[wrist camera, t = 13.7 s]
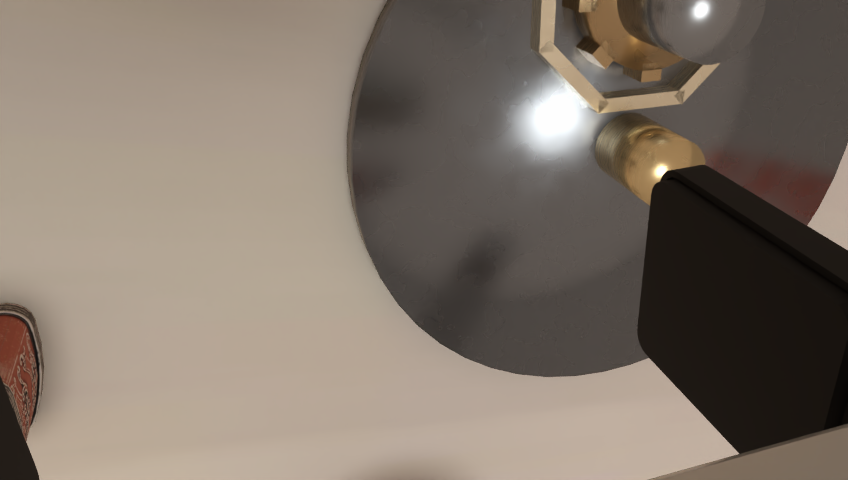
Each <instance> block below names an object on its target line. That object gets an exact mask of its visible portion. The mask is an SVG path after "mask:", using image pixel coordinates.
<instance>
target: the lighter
mask: <svg viewBox="0 0 848 480" xmlns="http://www.w3.org/2000/svg"><path fill="white" fill-rule="evenodd" d="M43 374H44V362H43V353H42V345H41V339H40V336H39V332H38V329H37V325H36V321H35V318H34V316H33V314H32V313H31V312H30V311H29V310H28V309H26V308H25V307H22V306H20V305H17V304H10V303H4V304H0V376H1V378H2V381H3V384H4V386H5V389H6V391H7V394H8V396H9V399H10V402H11V404H12V407H13V409H14V412H15V414H16V417H17V420H18V422H19V425H20V427H21V430H22V433H23V435H24V438H25V440H27V436H28V432H29V429H30V428H31V427H32V426H33V424H34V422H35V419H36V415H37V411H38V407H39V402H40V398H41V394H42V388H43Z"/></svg>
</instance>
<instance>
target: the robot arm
mask: <svg viewBox="0 0 848 480" xmlns="http://www.w3.org/2000/svg"><path fill="white" fill-rule="evenodd" d="M637 335H638V340H639V343H640V346H641V348H642V350H643V351H644V352H645V354H646V355H647V356H648V357H649V358H650V359H651V360H652V361H653V362H654V363H655V364H656V366H657V367H658V368H659V369H660V370H661V371H662V372H663V373H664V374H665V375H666V376H667V377H668V378H669V379H670V380H671V381H672V383H673V384H674V385H675V386H676V387H677V388H678V389H679V390H680V391H681V392H682V393H683V394H684V395H685V396H686V397H687V398H688V399H689V401H690V402H691V403H692V404H693V405H694V406H695V407H696V408H697V409H698V410H699V411H700V412H701V413H702V414H703V415H704V416H705V418H706V419H707V420H708V421H709V422H710V423H711V424H712V425H713V426H714V427H715V428H716V429H717V430H718V431H719V432H720V433H721V435H722V436H723V437H724V438H725V439H726V440H727V441H728V442H729V443H730V444H731V445H732V446H733V447H734V448H735V449H736V450H737V452H738V453H739V454H738V455H734V456H731V457H727V458H724V459H720V460H716V461H713V462H709V463H706V464H702V465H699V466H695V467H692V468H688V469H684V470H681V471H677V472H674V473H670V474H667V475H663V476H659V477H656V478H652V479H649V480H848V250H846V249H844V248H843V247H841V246H839V245H838V244H836V243H834V242H833V241H831V240H829V239H828V238H826V237H824V236H823V235H821V234H820V233H818V232H816V231H815V230H813V229H811V228H810V227H808V226H806V225H805V224H803V223H801V222H800V221H798V220H796V219H795V218H793V217H791V216H790V215H788V214H786V213H785V212H783V211H781V210H780V209H778V208H777V207H775V206H773V205H772V204H770V203H768V202H767V201H765V200H763V199H762V198H760V197H758V196H757V195H755V194H753V193H752V192H750V191H748V190H747V189H745V188H743V187H742V186H740V185H738V184H737V183H735V182H734V181H732V180H730V179H729V178H727V177H725V176H724V175H722V174H720V173H719V172H717V171H715V170H714V169H712V168H710V167H709V166H706V165H697V166H691V167H686V168H680V169H675V170H669V171H667V172H665V173H664V174H663V176H662V178H661V179H660V182H657V183H656V184H655V185H654V187H653V188H652V193H651V200H650V210H649V220H648V229H647V239H646V248H645V258H644V268H643V277H642V287H641V297H640V306H639V316H638V325H637ZM0 480H39V475H38V472H37V469H36V466H35V463H34V461H33V458H32V456H31V453H30V451H29V448H28V445H27V443H26V440H25V438H24V435H23V433H22V430H21V427H20V425H19V422H18V420H17V417H16V414H15V412H14V409H13V407H12V404H11V402H10V399H9V396H8V394H7V391H6V389H5V386H4V384H3V381H2V378H1V376H0Z"/></svg>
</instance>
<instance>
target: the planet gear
mask: <svg viewBox="0 0 848 480" xmlns="http://www.w3.org/2000/svg"><path fill="white" fill-rule="evenodd" d="M765 5H766V0H562V6H563V7H566V8H568V9H571V10H574V15H575V19H576V23H577V25H578V28H579V31H580V32H581V34H582V36H583V38H582V39H581V41H580V42H579V43H578V44H577V45H576V46H575V47H576V48H577V49H578V50H579V51H580V53H581V54H582V55H583V56H584V57H585V58H586V59H587V60H588V61H590V62H592V63H594V64H596V65H598V66H600V67H602V68H604V69H606V68H607V67H608V66H609V65H610V64H611V63H612V62H613V61H614V62H617V63H619V64H621V65H623V74H625V75H627V76H629V77H631V78H633V79H635V80H637V81H639V82H650V81H659V80H661V72H662V68H665V67H668V66H671V65H673V64H675V63H677V62H679V61H681V60H682V59H687V60H689V61H692V62H694V63H697V64H702V65H713V64H718V63H721V62H724V61H726V60H728V59H730V58H732V57H733V56H735V55H736V54H737V53H739V52H740V51H741V50H742V49H743V48H744V47H745V46H746V45H747V44H748V43H749V42H750V40H751V39H752V38H753V36H754V35H755V33H756V31H757V29H758V28H759V25H760V23H761V21H762V18H763V15H764V10H765Z"/></svg>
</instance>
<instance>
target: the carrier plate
mask: <svg viewBox="0 0 848 480" xmlns="http://www.w3.org/2000/svg"><path fill="white" fill-rule="evenodd" d="M582 38H583V36H582V34H581V32H580V31H579V28H578V25H577V23H576V19H575V15H574V10H571V9H568V8H566V7H563V6H562V0H388V2H387V3H386V5H385V7H384V9H383V11H382V12H381V14H380V16H379V18H378V20H377V23H376V25H375V28H374V30H373V33H372V35H371V38H370V40H369V42H368V45H367V47H366V50H365V52H364V55H363V58H362V61H361V65H360V69H359V73H358V76H357V80H356V84H355V88H354V91H353V95H352V102H351V110H350V117H349V125H348V133H347V172H348V179H349V186H350V193H351V200H352V206H353V210H354V213H355V217H356V220H357V223H358V227H359V230H360V234H361V237H362V240H363V242H364V244H365V246H366V248H367V250H368V252H369V255H370V257H371V259H372V261H373V263H374V265H375V268H376V270H377V272H378V274H379V276H380V278H381V279H382V281H383V282H384V284H385V285H386V287H387V288H388V290H389V291H390V293H391V294H392V296H393V297H394V299H395V300H396V302H397V303H398V305H399V306H400V307H401V308H402V309H403V310H404V311H405V312H406V313H407V314H408V315H409V317H410V318H411V319H412V320H413V321H414V322H415V323H416V324H417V325H418V326H419V327H420V328H421V329H423V330H424V331H425V332H426V333H428V334H429V335H430V336H431V337H433V338H434V339H435V340H436V341H438V342H439V343H440V344H442V345H444V346H445V347H447V348H449V349H451V350H452V351H454V352H456V353H458V354H459V355H461V356H463V357H465V358H467V359H470V360H472V361H475V362H477V363H480V364H483V365H485V366H488V367H490V368H494V369H498V370H503V371H507V372H511V373H515V374H522V375H532V376H543V377H558V376H578V375H585V374H591V373H598V372H604V371H608V370H612V369H615V368H619V367H623V366H627V365H630V364H633V363H636V362H639V361H641V360H644V359H646V358H649V357H648V356H647V355H646V354H645V352H644V351H643V350H642V348H641V346H640V343H639V340H638V335H637V325H638V316H639V306H640V297H641V287H642V277H643V268H644V258H645V248H646V239H647V229H648V220H649V210H650V200H651V193H652V188H653V187H654V185H655V184H656V183H657V182H660V179H661V178H662V176H663V174H664V173H665V172H667V171H669V170H675V169H680V168H686V167H691V166H697V165H706V166H709V167H710V168H712V169H714V170H715V171H717V172H719V173H720V174H722V175H724V176H725V177H727V178H729V179H730V180H732V181H734V182H735V183H737V184H738V185H740V186H742V187H743V188H745V189H747V190H748V191H750V192H752V193H753V194H755V195H757V196H758V197H760V198H762V199H763V200H765V201H767V202H768V203H770V204H772V205H773V206H775V207H777V208H778V209H780V210H781V211H783V212H785V213H786V214H788V215H790V216H791V217H793V218H795V219H796V220H798V221H800V222H801V223H803V224H805V225H806V226H807V225H808V223H809V222H810V220H811V219H812V217H813V215H814V214H815V212H816V211H817V209H818V208H819V206H820V204H821V202H822V200H823V198H824V196H825V194H826V192H827V190H828V188H829V186H830V184H831V182H832V181H833V179H834V176H835V174H836V171H837V169H838V166H839V164H840V161H841V159H842V156H843V154H844V151H845V149H846V146H847V143H848V0H766V5H765V10H764V15H763V18H762V21H761V23H760V25H759V28H758V29H757V31H756V33H755V35H754V36H753V38H752V39H751V40H750V42H749V43H748V44H747V45H746V46H745V47H744V48H743V49H742V50H741V51H740V52H739V53H737V54H736V55H735V56H733V57H732V58H730V59H728V60H726V61H724V62H721V63H718V64H713V65H702V64H697V63H694V62H692V61H689V60H687V59H682V60H681V61H679V62H677V63H675V64H673V65H671V66H668V67H665V68H662V72H661V80H659V81H650V82H639V81H637V80H635V79H633V78H631V77H629V76H627V75H625V74H623V65H621V64H619V63H617V62H614V61H613V62H612V63H611V64H610V65H609V66H608V67H607V68H606V69H604V68H602V67H600V66H598V65H596V64H594V63H592V62H590V61H588V60H587V59H586V58H585V57H584V56H583V55H582V54H581V53H580V51H579V50H578V49H577V48H576V47H575V46H576V45H577V44H578V43H579V42H580V41H581V39H582Z"/></svg>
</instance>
